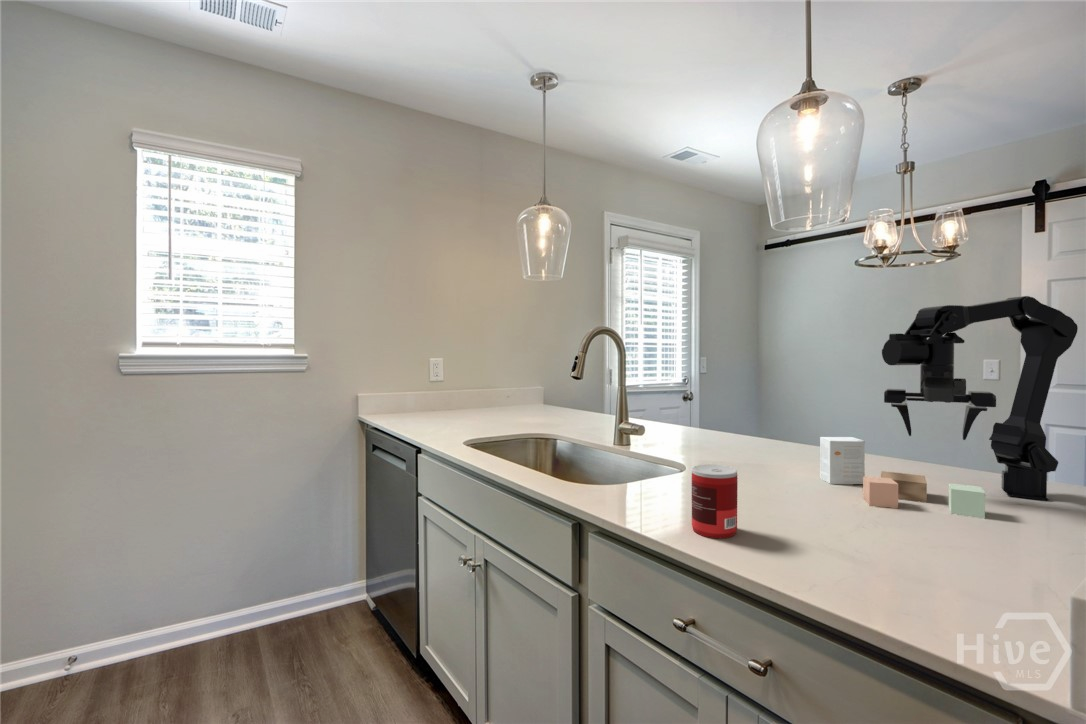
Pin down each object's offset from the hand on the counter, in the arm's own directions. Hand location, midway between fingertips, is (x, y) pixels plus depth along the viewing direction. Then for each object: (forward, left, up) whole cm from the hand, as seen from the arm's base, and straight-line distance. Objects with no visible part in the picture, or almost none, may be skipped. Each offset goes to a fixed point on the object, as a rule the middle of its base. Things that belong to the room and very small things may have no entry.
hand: (936, 437), depth 110 cm
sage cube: (-4, +10, -13) cm, 17 cm away
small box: (+18, -4, -13) cm, 23 cm away
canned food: (+34, +47, -13) cm, 59 cm away
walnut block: (+6, +2, -13) cm, 14 cm away
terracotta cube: (+10, +12, -13) cm, 20 cm away
